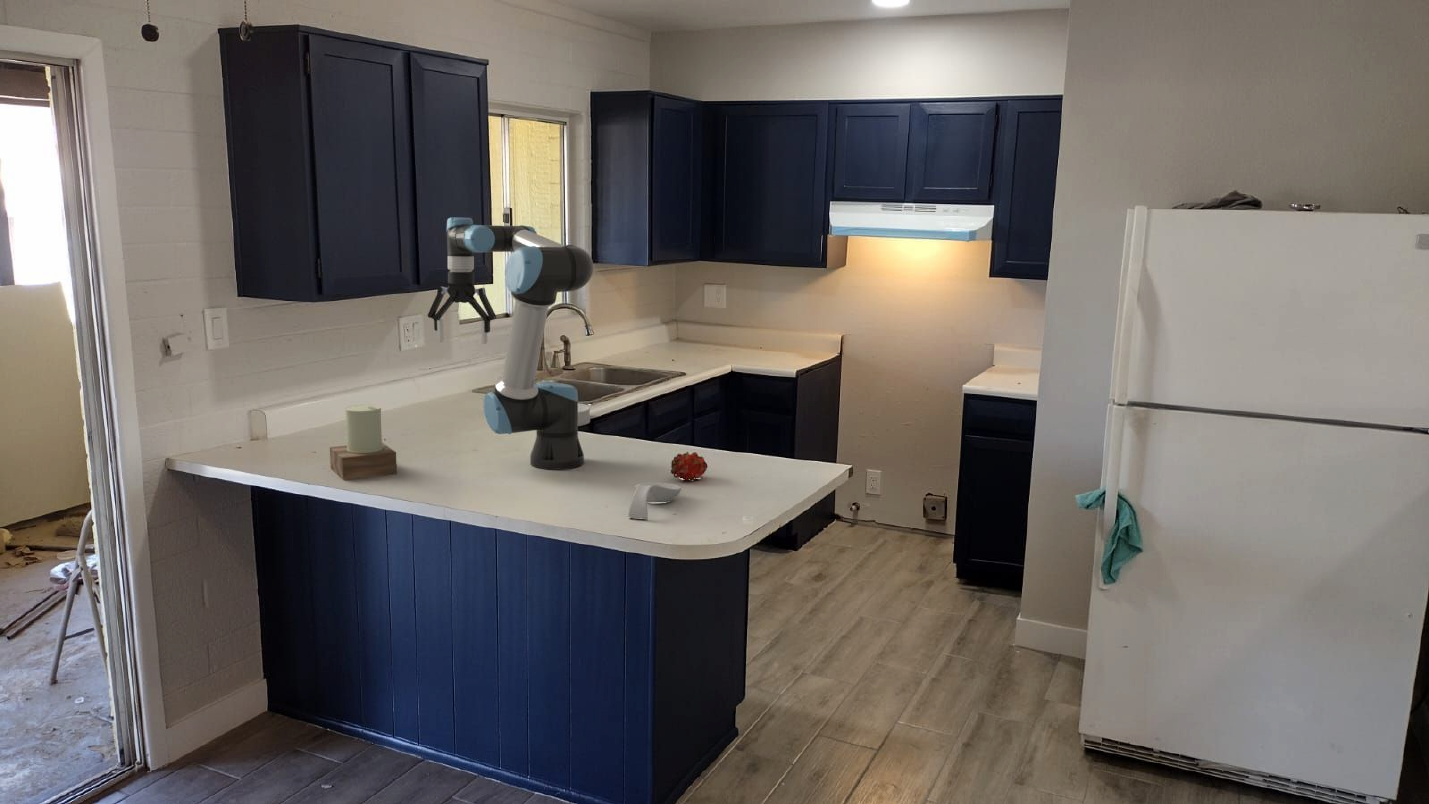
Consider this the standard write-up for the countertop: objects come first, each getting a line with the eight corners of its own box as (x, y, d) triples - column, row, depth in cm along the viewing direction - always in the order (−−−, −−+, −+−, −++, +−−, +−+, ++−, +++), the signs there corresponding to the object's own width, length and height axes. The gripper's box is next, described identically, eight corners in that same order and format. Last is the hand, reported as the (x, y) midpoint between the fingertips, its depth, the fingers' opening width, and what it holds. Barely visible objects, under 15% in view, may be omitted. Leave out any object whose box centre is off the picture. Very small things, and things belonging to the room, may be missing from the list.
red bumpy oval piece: (666, 488, 274) (702, 488, 281) (683, 475, 268) (720, 476, 275) (660, 459, 277) (695, 460, 284) (676, 446, 271) (712, 447, 278)
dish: (541, 431, 335) (540, 416, 334) (514, 419, 353) (514, 404, 352) (601, 424, 347) (601, 410, 346) (573, 413, 365) (573, 399, 364)
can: (371, 454, 271) (370, 410, 269) (340, 452, 273) (338, 408, 271) (389, 447, 280) (387, 404, 278) (358, 445, 282) (356, 402, 280)
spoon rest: (641, 493, 263) (641, 466, 262) (685, 497, 261) (686, 469, 260) (614, 519, 240) (614, 490, 239) (663, 523, 238) (663, 493, 237)
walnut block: (396, 473, 276) (396, 452, 274) (343, 480, 268) (342, 457, 267) (382, 462, 287) (381, 442, 286) (330, 468, 280) (329, 447, 278)
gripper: (506, 271, 302) (507, 342, 305) (425, 268, 305) (427, 339, 308) (497, 272, 294) (498, 345, 298) (415, 270, 297) (417, 342, 301)
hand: (462, 342), depth 303 cm, fingers open, 13 cm apart
